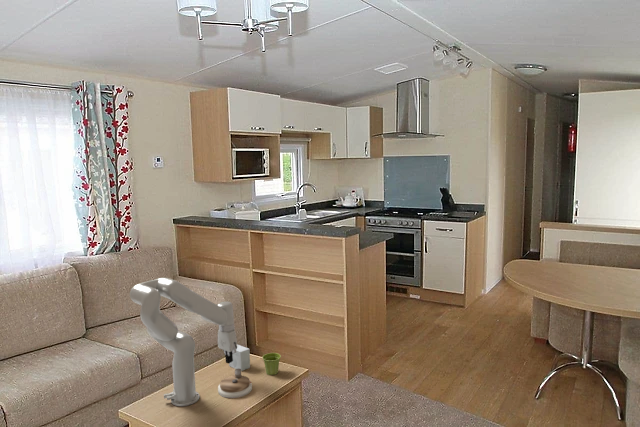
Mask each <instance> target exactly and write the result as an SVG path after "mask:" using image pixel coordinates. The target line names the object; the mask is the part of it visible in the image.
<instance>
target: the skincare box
mask: <svg viewBox="0 0 640 427" xmlns="http://www.w3.org/2000/svg"><path fill="white" fill-rule="evenodd" d="M232 356H233V362H231V363H229V364H228V367H230V368H233V369H234V370H235V369H241V372H243V371H245V370H247V369H250V368H251V359H250V358H251V354H250V348H248V347H245V346H243V345H240V344H238V343H237V349H236V353H234V354H232Z"/></svg>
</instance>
